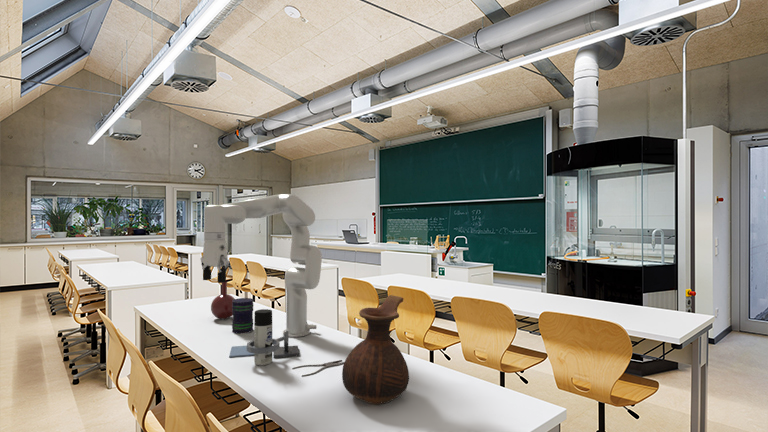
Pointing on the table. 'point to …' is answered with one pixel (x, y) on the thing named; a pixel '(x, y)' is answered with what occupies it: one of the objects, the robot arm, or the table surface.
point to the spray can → (263, 335)
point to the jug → (377, 358)
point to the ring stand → (276, 348)
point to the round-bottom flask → (222, 304)
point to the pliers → (329, 364)
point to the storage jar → (242, 315)
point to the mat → (240, 351)
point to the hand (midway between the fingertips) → (214, 281)
